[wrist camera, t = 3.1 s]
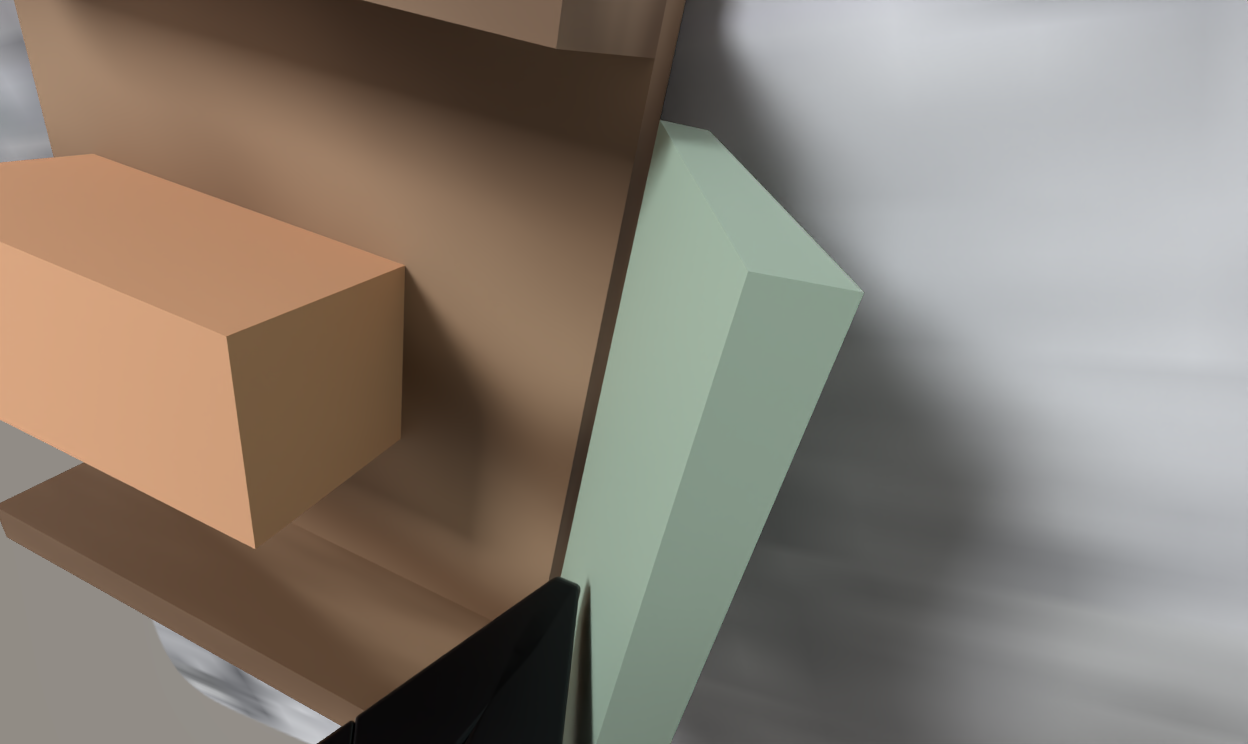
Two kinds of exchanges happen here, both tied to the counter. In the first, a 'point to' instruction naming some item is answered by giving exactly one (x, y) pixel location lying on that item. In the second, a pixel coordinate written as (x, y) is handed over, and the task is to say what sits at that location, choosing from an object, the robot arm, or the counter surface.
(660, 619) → the pale green rectangular block
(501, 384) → the brown wooden tray
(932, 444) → the counter surface
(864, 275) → the counter surface
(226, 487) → the peach rectangular block
